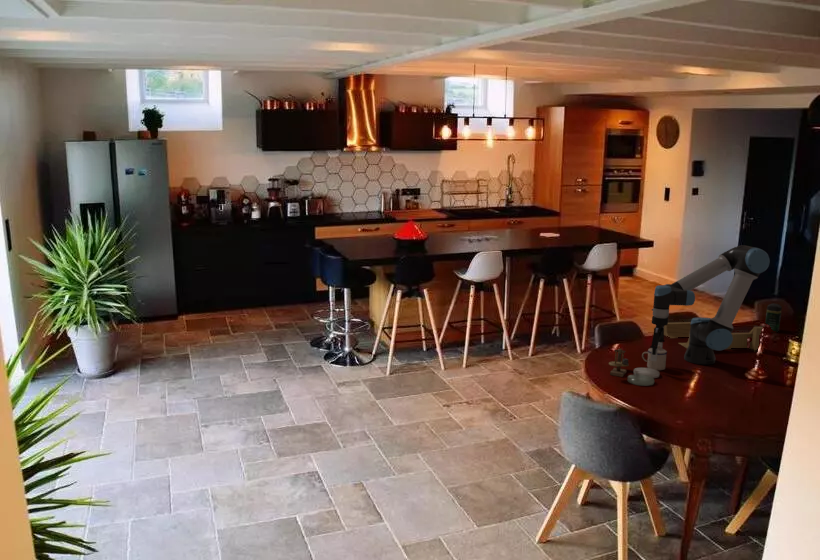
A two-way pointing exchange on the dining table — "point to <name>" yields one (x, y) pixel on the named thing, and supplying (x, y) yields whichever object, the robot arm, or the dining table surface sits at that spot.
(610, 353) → the dining table surface
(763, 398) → the dining table surface
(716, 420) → the dining table surface
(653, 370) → the dish
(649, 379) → the dish
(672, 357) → the dining table surface
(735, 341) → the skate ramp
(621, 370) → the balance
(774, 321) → the coffee jar
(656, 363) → the teacup with lid
